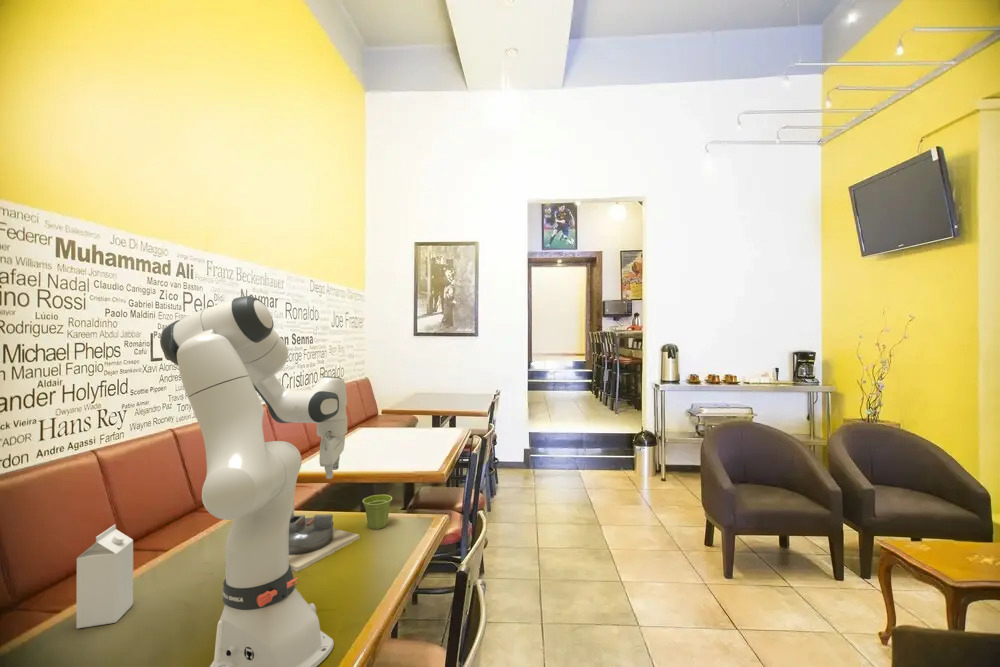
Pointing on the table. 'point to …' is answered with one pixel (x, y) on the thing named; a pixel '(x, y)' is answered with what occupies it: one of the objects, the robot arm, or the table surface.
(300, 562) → the board
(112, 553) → the milk carton
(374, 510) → the plant pot
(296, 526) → the grey disc with tab
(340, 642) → the table surface
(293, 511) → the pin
